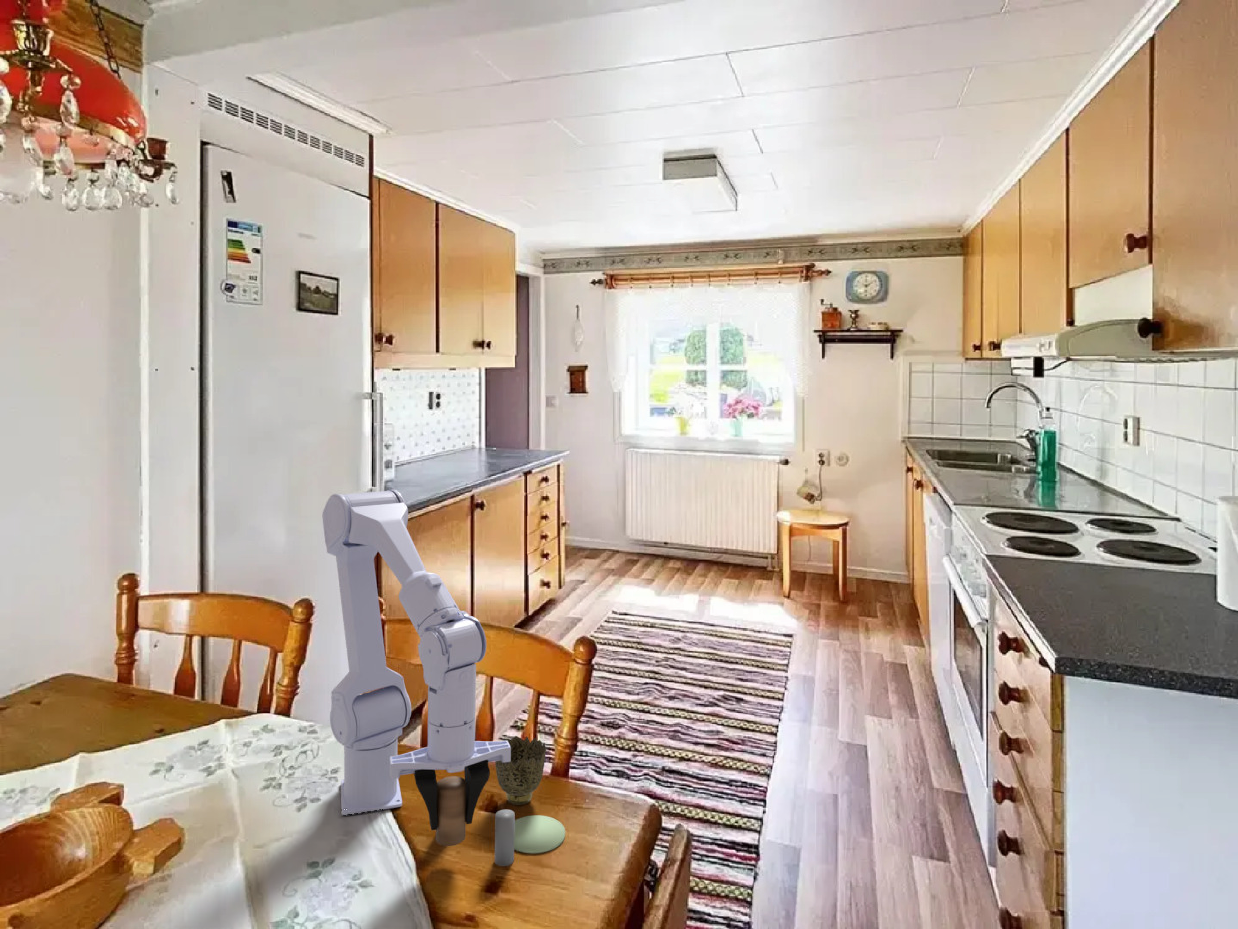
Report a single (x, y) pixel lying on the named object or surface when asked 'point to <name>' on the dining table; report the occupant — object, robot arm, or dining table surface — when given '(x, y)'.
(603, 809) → the dining table surface
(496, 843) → the post
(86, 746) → the dining table surface
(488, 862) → the dining table surface
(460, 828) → the dowel
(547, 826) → the coaster
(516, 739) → the cup
